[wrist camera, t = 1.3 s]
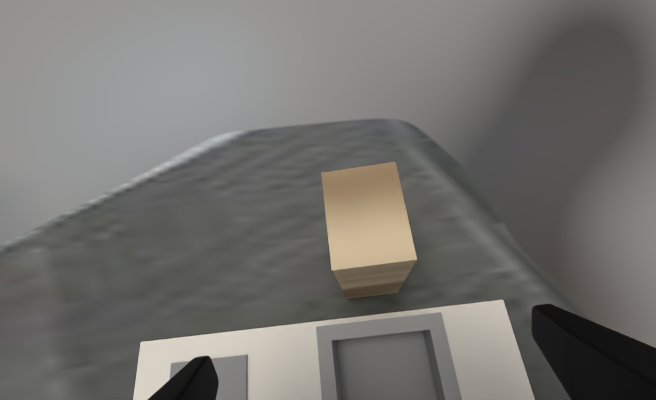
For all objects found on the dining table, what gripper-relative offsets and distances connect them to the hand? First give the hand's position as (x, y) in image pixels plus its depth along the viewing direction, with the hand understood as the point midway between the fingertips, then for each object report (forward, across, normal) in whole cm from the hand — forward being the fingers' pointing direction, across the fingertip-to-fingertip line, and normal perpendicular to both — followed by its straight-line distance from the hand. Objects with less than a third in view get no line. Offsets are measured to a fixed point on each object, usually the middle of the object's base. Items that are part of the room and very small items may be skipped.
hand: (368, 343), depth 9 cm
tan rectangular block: (+13, -1, +5) cm, 14 cm away
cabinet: (+8, +4, +11) cm, 14 cm away
